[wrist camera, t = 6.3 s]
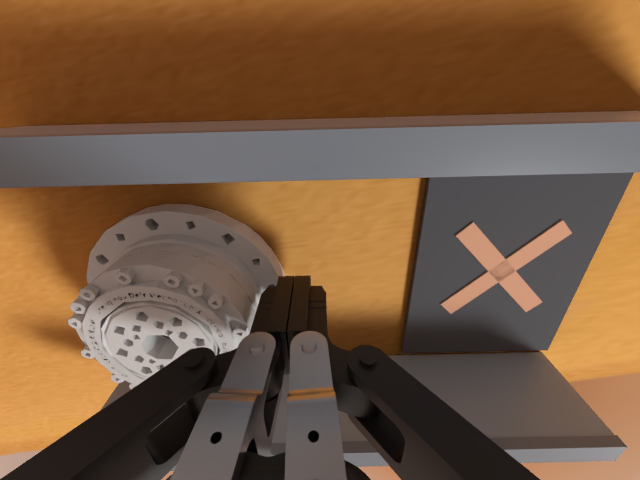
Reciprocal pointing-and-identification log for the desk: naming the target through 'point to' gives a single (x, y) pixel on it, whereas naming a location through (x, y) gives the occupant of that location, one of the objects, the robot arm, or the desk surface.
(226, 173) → the plastic channel
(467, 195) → the pad
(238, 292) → the mechanical component
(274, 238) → the desk surface
